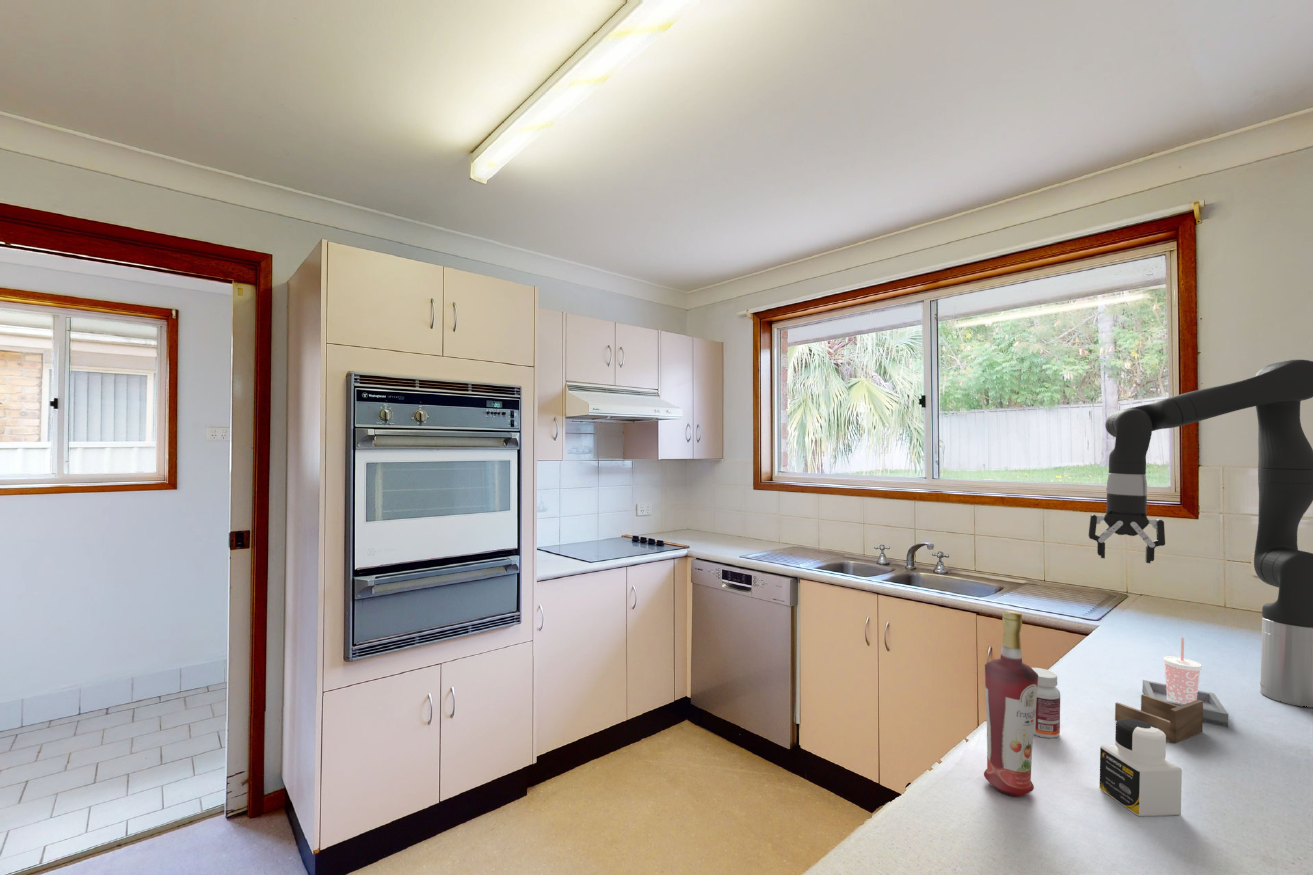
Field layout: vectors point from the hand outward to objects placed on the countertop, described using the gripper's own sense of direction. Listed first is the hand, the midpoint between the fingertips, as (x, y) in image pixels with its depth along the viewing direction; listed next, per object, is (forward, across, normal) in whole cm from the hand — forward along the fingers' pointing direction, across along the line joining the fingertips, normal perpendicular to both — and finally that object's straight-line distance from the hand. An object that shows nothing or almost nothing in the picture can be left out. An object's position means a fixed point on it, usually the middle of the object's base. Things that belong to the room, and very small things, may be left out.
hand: (1125, 560), depth 142 cm
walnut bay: (+28, +3, -27) cm, 39 cm away
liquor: (+28, -20, -70) cm, 78 cm away
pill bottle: (+28, -16, -44) cm, 55 cm away
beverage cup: (+28, +9, -13) cm, 32 cm away
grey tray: (+28, +9, -13) cm, 32 cm away
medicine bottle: (+28, -3, -62) cm, 68 cm away
